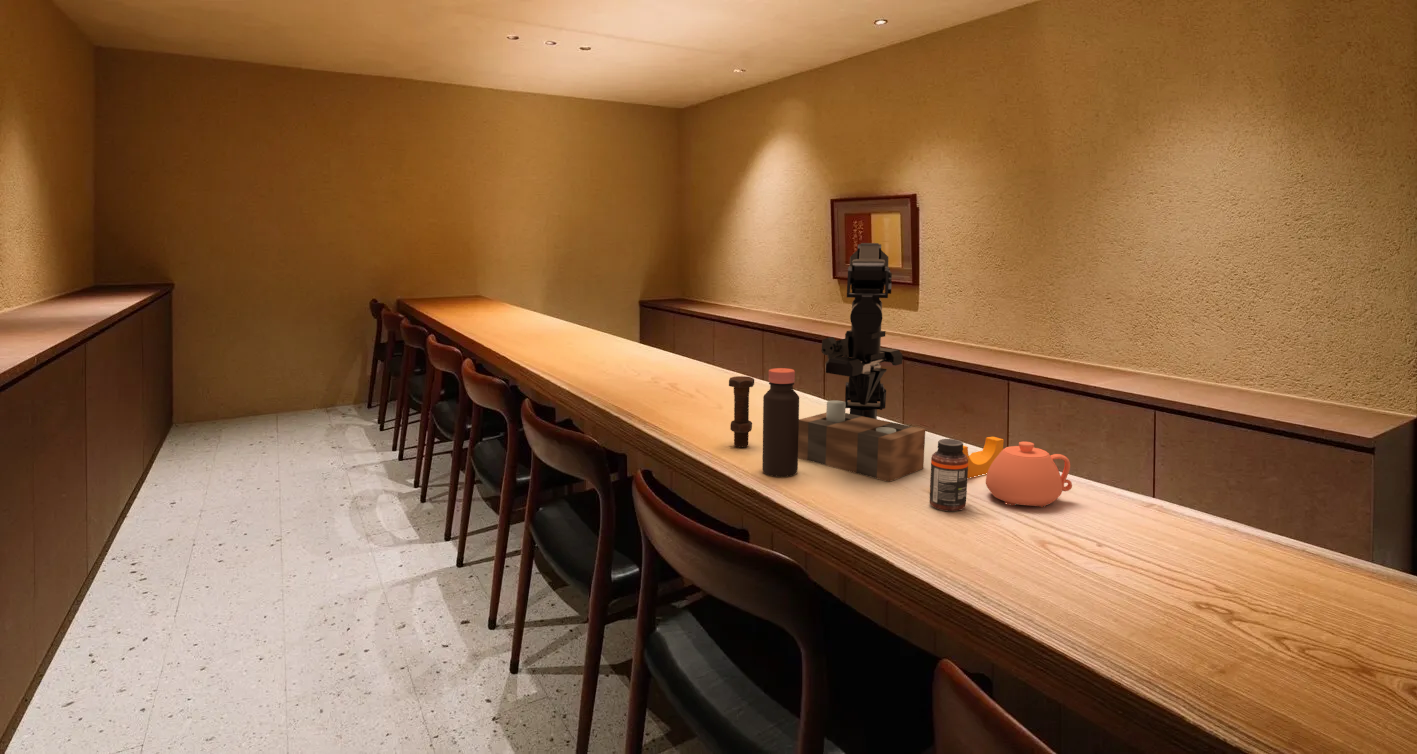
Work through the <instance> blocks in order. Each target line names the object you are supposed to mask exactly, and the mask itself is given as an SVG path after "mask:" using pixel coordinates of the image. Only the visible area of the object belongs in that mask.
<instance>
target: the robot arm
mask: <svg viewBox="0 0 1417 754" xmlns="http://www.w3.org/2000/svg"><path fill="white" fill-rule="evenodd" d="M892 275H893V273H892V272H891V269H890V267H889V256H888V255H887V254H886V253H885V252H884V251H883V250H882V244H881V243H878V242H861V243H859V244H857V250H856V251H855V252H854V253H852V255H850V257H849V266H848V267H847V285H846V298H854V299H853V300H852V301H851V310H850V316H849V317H850V318H849V319H850V323H851V325H850V326H851V327H850V330H846V332H845V335H844V338H842V339H838V340H836V339H835V337H833V336H831V337H827V338H823V339H822V341H821V353H822V354H823V355H825V356H827V360H826V362H825V366H824V367H825V368H824V371H825V372H824V373H825V374H831V375H836V376H843V377H848V381H845V392H844V393H845V395H844V396H845V399H844V402H846V408H845V409H849V414H853V415H858V416H863V417H868V418H873V419H878V410H880V411H883V410H885V409H886V399H887V389H886V388H885V386H884V383H882V382H881V380H882V377H883V376H884V374H885V373H886V372H887V368H883V367H882V365H881V363H884V362H885V363H891V364H892V366H899V365H903V354H902V352H901V351H900V349H895V348H886V347H881V346H882V345H881V344H882V343H881V341H882V338H883V337H886V333H887V332H886V330H882V322H883V302H882V300H881V299H888V298H889V295H891V294H892ZM881 367H882V368H881Z"/></svg>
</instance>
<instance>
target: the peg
mask: <svg viewBox="0 0 1417 754" xmlns="http://www.w3.org/2000/svg"><path fill="white" fill-rule="evenodd" d="M846 409H847V408H846V402H845V400H844V401H842V400H837V399H836V400H827V401H826V412H825V413H826V421H831V422H836V423H840V422H843V421H845V413H846Z"/></svg>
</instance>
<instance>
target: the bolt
mask: <svg viewBox="0 0 1417 754" xmlns="http://www.w3.org/2000/svg"><path fill="white" fill-rule="evenodd" d="M754 385H755V378H754V377H751V376H745V375H744V376H743V375H741V376H738V375H737V376H732V377H729V380H728V387H731V388H732V387H733V395H734V396H733V404H734V405H733V406H734V407H733V417H734V419H733V420H732V421H731V422H730V427H729V428H730V431H731V432H733V446H734V447H735V448H747V447H749V438H750V437H749V433H750V432H751V431H752V429H753V422H752V421H751V420H749V418H750V417H749V416H750V414H749V413H750V410H749V409H750V408H749V406H750V390H751V389H750V388H753V387H754Z"/></svg>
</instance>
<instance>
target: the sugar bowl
mask: <svg viewBox="0 0 1417 754" xmlns="http://www.w3.org/2000/svg"><path fill="white" fill-rule="evenodd" d="M1054 460H1063V462H1064V467H1063V470H1062V473H1060V470H1059V468H1058V466H1057V465H1056V463H1055V462H1054ZM1070 469H1071V462H1070V459H1069V458H1068V457H1067V456H1065V455H1064V454H1060V453H1054V454H1051V455H1050V453H1049V452H1047V450H1044V449H1041V448H1039V447H1035V443H1034V442H1030V441H1019V442H1018V445H1012V446H1011V445H1010V446H1007V447H1005V448H1004V447H1003V450H1002V451H1001V452H1000V453H999V455H998V456H997V457H996V458H995V460H994V461H993V463H992V464H991V466H990V468H989V470H988V473H987V474H986V477H985V485H986V487H987V490H988V491H990V493H991V494H992V496H993V497H994V498H996V499H998V500H1001V501H1003V502H1004V504H1005V503H1007V504H1011V505H1010V506H1016V505H1015V504H1017V505H1021V506H1033V507H1034V506H1035V507H1038V506H1042V507H1041V508H1044V507H1043V506H1046V507H1047V505H1050V504H1052V503H1053V502H1054V501H1057V500H1058V498H1060V496H1061V495H1062V493H1063V492H1068V491H1071V489H1072V488H1073V484H1072V481H1071V479H1067V477H1068V476H1069V473H1070ZM1065 484H1067V485H1065ZM1007 504H1006V505H1007Z"/></svg>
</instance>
